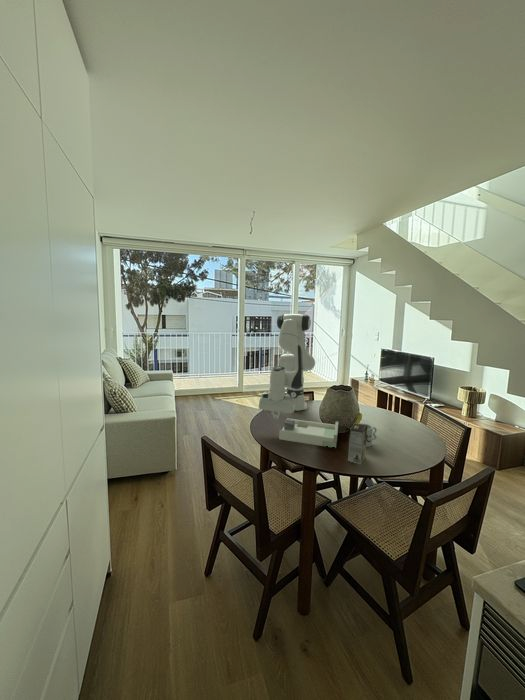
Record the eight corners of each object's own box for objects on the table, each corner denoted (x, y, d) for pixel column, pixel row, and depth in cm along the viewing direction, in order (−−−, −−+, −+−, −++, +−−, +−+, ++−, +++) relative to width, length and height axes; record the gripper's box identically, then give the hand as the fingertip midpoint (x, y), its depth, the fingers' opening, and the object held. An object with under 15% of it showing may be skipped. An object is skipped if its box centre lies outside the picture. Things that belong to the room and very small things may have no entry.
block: (285, 426, 176) (286, 419, 175) (294, 427, 175) (294, 420, 174) (284, 429, 171) (284, 422, 171) (292, 430, 170) (293, 423, 169)
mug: (360, 448, 157) (361, 430, 156) (350, 441, 166) (352, 423, 164) (380, 446, 160) (382, 428, 159) (370, 439, 169) (371, 422, 168)
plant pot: (358, 426, 189) (360, 410, 187) (362, 432, 178) (364, 416, 177) (341, 424, 190) (342, 409, 188) (344, 431, 179) (345, 415, 178)
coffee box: (351, 453, 151) (354, 422, 149) (365, 457, 148) (367, 425, 146) (347, 461, 143) (349, 428, 141) (361, 465, 140) (364, 431, 138)
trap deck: (286, 426, 184) (287, 415, 183) (337, 433, 176) (338, 421, 175) (279, 439, 165) (279, 426, 164) (335, 448, 157) (336, 435, 156)
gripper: (296, 395, 173) (294, 419, 174) (261, 391, 178) (260, 414, 180) (294, 398, 167) (292, 422, 168) (258, 394, 172) (257, 418, 174)
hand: (275, 418), depth 174 cm, fingers closed
